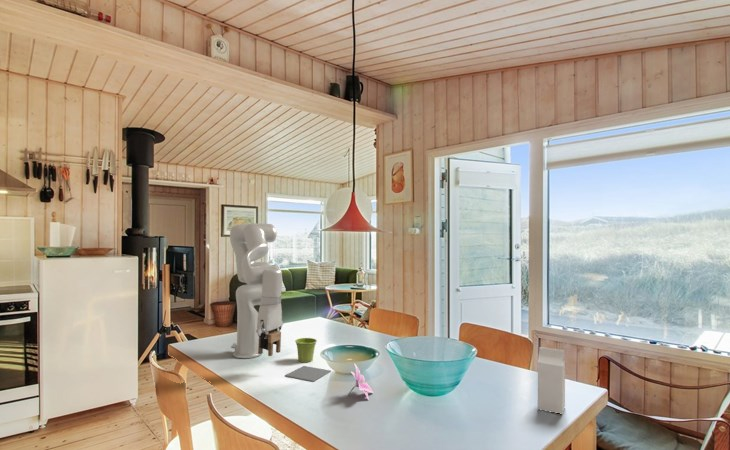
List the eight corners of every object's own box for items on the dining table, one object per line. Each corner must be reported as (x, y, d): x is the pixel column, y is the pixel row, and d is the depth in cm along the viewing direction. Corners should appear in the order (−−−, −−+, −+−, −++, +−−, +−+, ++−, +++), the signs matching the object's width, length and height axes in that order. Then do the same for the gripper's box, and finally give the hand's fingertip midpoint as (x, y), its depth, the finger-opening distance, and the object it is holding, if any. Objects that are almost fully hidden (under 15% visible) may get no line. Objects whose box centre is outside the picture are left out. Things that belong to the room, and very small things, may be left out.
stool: (258, 353, 156) (258, 332, 156) (268, 349, 161) (268, 329, 161) (270, 356, 153) (271, 335, 153) (280, 351, 159) (281, 331, 159)
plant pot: (318, 357, 179) (319, 338, 180) (313, 364, 170) (314, 343, 170) (298, 356, 180) (298, 337, 181) (292, 363, 171) (292, 342, 171)
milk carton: (562, 415, 124) (562, 353, 124) (537, 410, 127) (537, 349, 128) (565, 407, 130) (564, 348, 130) (541, 402, 134) (541, 344, 134)
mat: (284, 376, 155) (284, 375, 155) (303, 366, 167) (303, 365, 167) (313, 381, 149) (313, 380, 149) (331, 371, 161) (331, 370, 161)
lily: (354, 409, 128) (369, 383, 129) (330, 386, 135) (345, 361, 136) (372, 408, 138) (386, 384, 138) (349, 387, 145) (362, 364, 145)
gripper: (277, 296, 167) (275, 339, 167) (248, 302, 151) (246, 350, 151) (292, 298, 163) (290, 342, 164) (264, 305, 148) (262, 354, 148)
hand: (269, 345), depth 157 cm, fingers closed on stool, 6 cm apart
